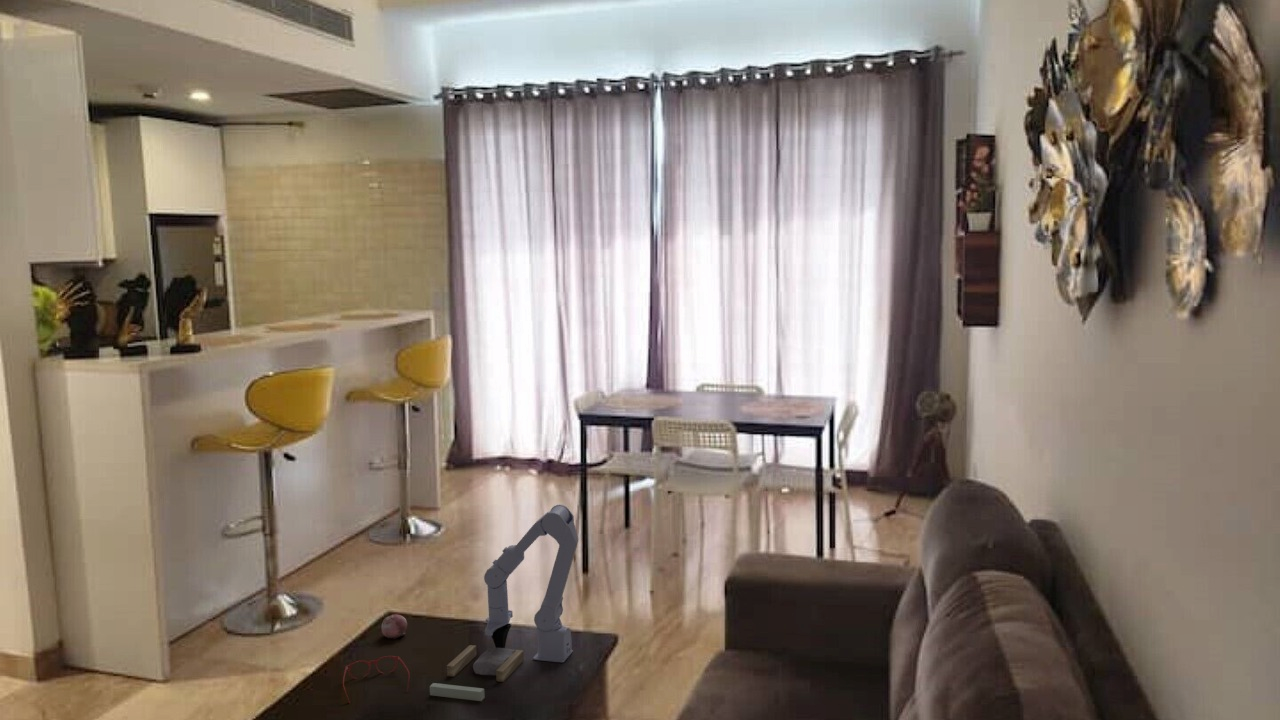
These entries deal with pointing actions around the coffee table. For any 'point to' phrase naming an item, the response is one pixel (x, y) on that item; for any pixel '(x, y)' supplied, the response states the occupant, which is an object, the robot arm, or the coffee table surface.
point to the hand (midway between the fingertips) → (500, 649)
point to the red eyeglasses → (376, 667)
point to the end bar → (457, 692)
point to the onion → (394, 626)
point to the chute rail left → (461, 660)
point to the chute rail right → (509, 665)
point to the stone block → (491, 661)
